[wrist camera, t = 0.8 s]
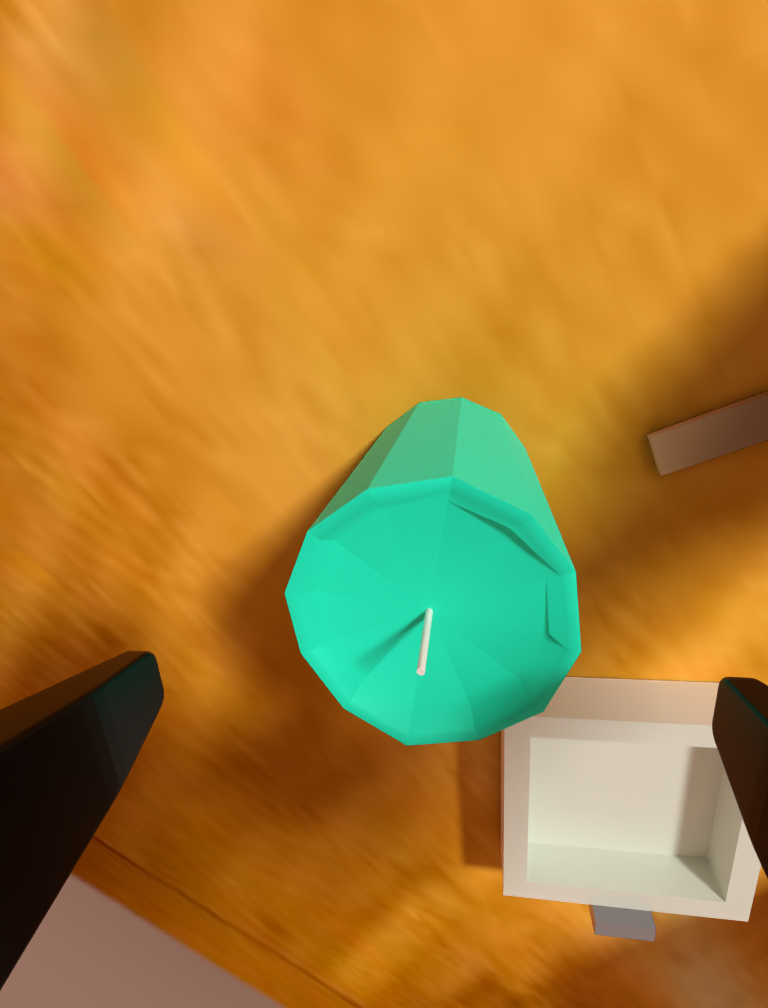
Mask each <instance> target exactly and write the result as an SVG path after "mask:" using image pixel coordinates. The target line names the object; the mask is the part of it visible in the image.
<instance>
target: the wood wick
mask: <svg viewBox="0 0 768 1008" xmlns="http://www.w3.org/2000/svg"><path fill="white" fill-rule="evenodd" d="M647 438H648V441H649V444H650V447H651V451H652V454H653V457H654V461H655V464H656V467H657V470H658V473H659V474H660V475H662V476H663V475H666V474H669V473H672V472H675V471H678V470H681V469H684V468H687V467H690V466H693V465H696V464H699V463H702V462H705V461H708V460H711V459H714V458H716V457H719V456H722V455H725V454H728V453H731V452H734V451H737V450H740V449H743V448H746V447H749V446H752V445H755V444H758V443H761V442H764V441H767V440H768V391H767V392H764V393H761V394H758V395H756V396H753V397H750V398H747V399H744V400H742V401H739V402H736V403H733V404H730V405H728V406H725V407H722V408H719V409H716V410H714V411H711V412H708V413H705V414H703V415H700V416H697V417H694V418H691V419H689V420H686V421H683V422H680V423H677V424H675V425H672V426H669V427H666V428H663V429H661V430H658V431H655V432H652V433H650V434H647Z"/></svg>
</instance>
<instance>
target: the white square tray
mask: <svg viewBox="0 0 768 1008" xmlns="http://www.w3.org/2000/svg"><path fill="white" fill-rule="evenodd" d="M718 686H719V683H712V682H687V681H662V680H636V679H611V678H585V677H565V678H564V680H563V682H562V683H561V685H560V686H559V688H558V690H557V691H556V693H555V694H554V696H553V697H552V699H551V701H550V702H549V704H548V705H547V707H546V709H545V710H544V712H542V713H540V714H537V715H535V716H533V717H530V718H528V719H526V720H524V721H521V722H519V723H517V724H515V725H512V726H510V727H508V728H506V729H503V730H501V859H502V877H503V895H507V896H516V897H526V898H535V899H544V900H553V901H562V902H571V903H581V904H589V909H590V914H591V919H592V924H593V929H594V934H595V935H602V936H611V937H619V938H628V939H636V940H645V941H653V942H654V940H655V933H656V927H655V923H654V920H653V917H652V913H651V911H654V912H663V913H672V914H682V915H691V916H700V917H709V918H718V919H728V920H737V921H746V922H748V920H749V916H750V911H751V907H752V903H753V898H754V894H755V890H756V885H757V881H758V876H759V872H760V868H761V863H760V861H759V859H758V857H757V855H756V852H755V850H754V848H753V845H752V843H751V840H750V838H749V835H748V832H747V830H746V827H745V824H744V822H743V819H742V816H741V813H740V810H739V808H738V805H737V802H736V799H735V797H734V794H733V791H732V788H731V785H730V783H729V780H728V777H727V774H726V772H725V769H724V766H723V763H722V760H721V758H720V755H719V752H718V749H717V747H716V744H715V741H714V737H713V732H712V720H713V714H714V708H715V702H716V697H717V691H718Z"/></svg>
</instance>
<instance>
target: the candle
mask: <svg viewBox="0 0 768 1008" xmlns="http://www.w3.org/2000/svg"><path fill="white" fill-rule="evenodd" d="M285 597H286V601H287V604H288V608H289V612H290V615H291V619H292V623H293V626H294V630H295V634H296V637H297V641H298V645H299V649H300V652H301V654H302V655H303V657H304V658H305V659H306V661H307V662H308V663H309V664H310V666H311V667H312V668H313V670H314V671H315V672H316V674H317V675H318V676H319V677H320V679H321V680H322V681H323V683H324V684H325V685H326V686H327V688H328V689H329V690H330V692H331V693H332V694H333V695H334V697H335V698H336V699H337V701H338V702H339V703H340V704H341V706H342V707H343V708H344V709H346V710H347V711H349V712H351V713H352V714H354V715H356V716H357V717H359V718H361V719H362V720H364V721H366V722H368V723H369V724H371V725H373V726H374V727H376V728H378V729H379V730H381V731H383V732H385V733H386V734H388V735H390V736H391V737H393V738H395V739H396V740H398V741H400V742H402V743H403V744H405V745H407V746H408V745H421V744H434V743H447V742H461V741H474V740H481V739H483V738H485V737H488V736H490V735H492V734H494V733H497V732H499V731H501V730H503V729H506V728H508V727H510V726H512V725H515V724H517V723H519V722H521V721H524V720H526V719H528V718H530V717H533V716H535V715H537V714H540V713H542V712H544V710H545V709H546V707H547V705H548V704H549V702H550V701H551V699H552V697H553V696H554V694H555V693H556V691H557V690H558V688H559V686H560V685H561V683H562V682H563V680H564V678H565V677H566V675H567V674H568V672H569V670H570V669H571V667H572V666H573V664H574V662H575V661H576V659H577V658H578V656H579V655H580V653H581V639H580V625H579V610H578V596H577V581H576V571H575V568H574V566H573V563H572V561H571V558H570V556H569V554H568V551H567V549H566V546H565V544H564V541H563V539H562V537H561V534H560V532H559V529H558V527H557V524H556V522H555V520H554V517H553V515H552V512H551V510H550V507H549V505H548V503H547V500H546V498H545V495H544V493H543V490H542V488H541V486H540V483H539V481H538V478H537V476H536V473H535V471H534V469H533V466H532V464H531V461H530V459H529V456H528V454H527V452H526V449H525V447H524V446H523V444H522V443H521V442H520V440H519V439H518V437H517V436H516V435H515V433H514V432H513V430H512V429H511V428H510V426H509V425H508V423H507V422H506V421H505V419H504V418H503V416H502V415H501V414H499V413H497V412H495V411H492V410H490V409H488V408H485V407H483V406H481V405H478V404H476V403H474V402H471V401H469V400H467V399H464V398H462V397H460V398H452V399H444V400H435V401H427V402H419V403H418V404H417V405H415V406H414V407H413V408H411V409H410V410H409V411H407V412H406V413H405V414H403V415H402V416H401V417H400V418H398V419H397V420H396V421H394V422H393V423H392V424H390V425H389V426H388V427H386V429H385V430H384V431H383V433H382V434H381V435H380V437H379V438H378V439H377V441H376V442H375V443H374V445H373V446H372V447H371V448H370V450H369V451H368V452H367V454H366V455H365V456H364V458H363V459H362V460H361V462H360V463H359V464H358V466H357V467H356V468H355V469H354V471H353V472H352V473H351V475H350V476H349V477H348V479H347V480H346V481H345V483H344V484H343V485H342V487H341V488H340V489H339V490H338V492H337V493H336V494H335V496H334V497H333V498H332V500H331V501H330V502H329V504H328V505H327V506H326V507H325V509H324V510H323V511H322V513H321V514H320V515H319V517H318V518H317V519H316V521H315V522H314V523H313V525H312V526H311V527H310V528H309V530H308V531H307V534H306V536H305V539H304V542H303V545H302V547H301V550H300V553H299V555H298V558H297V561H296V564H295V566H294V569H293V572H292V574H291V577H290V580H289V582H288V585H287V588H286V591H285Z"/></svg>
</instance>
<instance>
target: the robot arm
mask: <svg viewBox="0 0 768 1008" xmlns="http://www.w3.org/2000/svg"><path fill="white" fill-rule="evenodd" d="M163 698H164V689H163V685H162V681H161V676H160V672H159V668H158V664H157V660H156V657H155V656H154V654H153V653H151V652H149V651H127V652H125V653H122V654H120V655H118V656H116V657H114V658H112V659H109V660H107V661H105V662H103V663H101V664H99V665H96V666H94V667H92V668H90V669H88V670H86V671H83V672H81V673H79V674H77V675H75V676H73V677H71V678H68V679H66V680H64V681H62V682H60V683H58V684H55V685H53V686H51V687H49V688H47V689H45V690H42V691H40V692H38V693H36V694H34V695H32V696H29V697H27V698H25V699H23V700H21V701H19V702H16V703H14V704H12V705H10V706H8V707H6V708H3V709H1V710H0V990H1V989H2V987H3V985H4V984H5V982H6V980H7V979H8V977H9V975H10V974H11V972H12V970H13V969H14V967H15V965H16V964H17V962H18V960H19V959H20V957H21V955H22V954H23V952H24V950H25V949H26V947H27V945H28V943H29V942H30V940H31V939H32V937H33V935H34V934H35V932H36V930H37V929H38V927H39V925H40V923H41V922H42V920H43V918H44V917H45V915H46V913H47V912H48V910H49V909H50V907H51V905H52V904H53V902H54V900H55V899H56V897H57V895H58V894H59V892H60V890H61V888H62V887H63V885H64V883H65V882H66V880H67V879H68V877H69V875H70V874H71V872H72V870H73V869H74V867H75V865H76V864H77V862H78V860H79V859H80V857H81V855H82V854H83V852H84V850H85V849H86V847H87V845H88V844H89V842H90V840H91V839H92V837H93V835H94V834H95V832H96V830H97V829H98V827H99V825H100V824H101V822H102V820H103V819H104V817H105V815H106V814H107V812H108V810H109V809H110V807H111V805H112V804H113V802H114V800H115V798H116V797H117V795H118V793H119V791H120V790H121V788H122V786H123V784H124V782H125V780H126V778H127V776H128V774H129V772H130V770H131V768H132V766H133V764H134V762H135V760H136V758H137V756H138V754H139V751H140V749H141V747H142V745H143V743H144V741H145V739H146V737H147V735H148V733H149V731H150V729H151V727H152V725H153V722H154V720H155V718H156V716H157V714H158V712H159V710H160V708H161V706H162V703H163ZM712 732H713V737H714V741H715V744H716V747H717V749H718V752H719V755H720V758H721V760H722V763H723V766H724V769H725V772H726V774H727V777H728V780H729V783H730V785H731V788H732V791H733V794H734V797H735V799H736V802H737V805H738V808H739V810H740V813H741V816H742V819H743V822H744V824H745V827H746V830H747V832H748V835H749V838H750V840H751V843H752V845H753V848H754V850H755V852H756V855H757V857H758V859H759V861H760V863H761V866H762V868H763V870H764V872H765V874H766V876H767V878H768V686H767V685H766V684H764V683H762V682H760V681H759V680H757V679H754V678H742V677H725V678H723V679H722V680H721V681H720V683H719V686H718V691H717V697H716V702H715V708H714V714H713V720H712Z"/></svg>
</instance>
